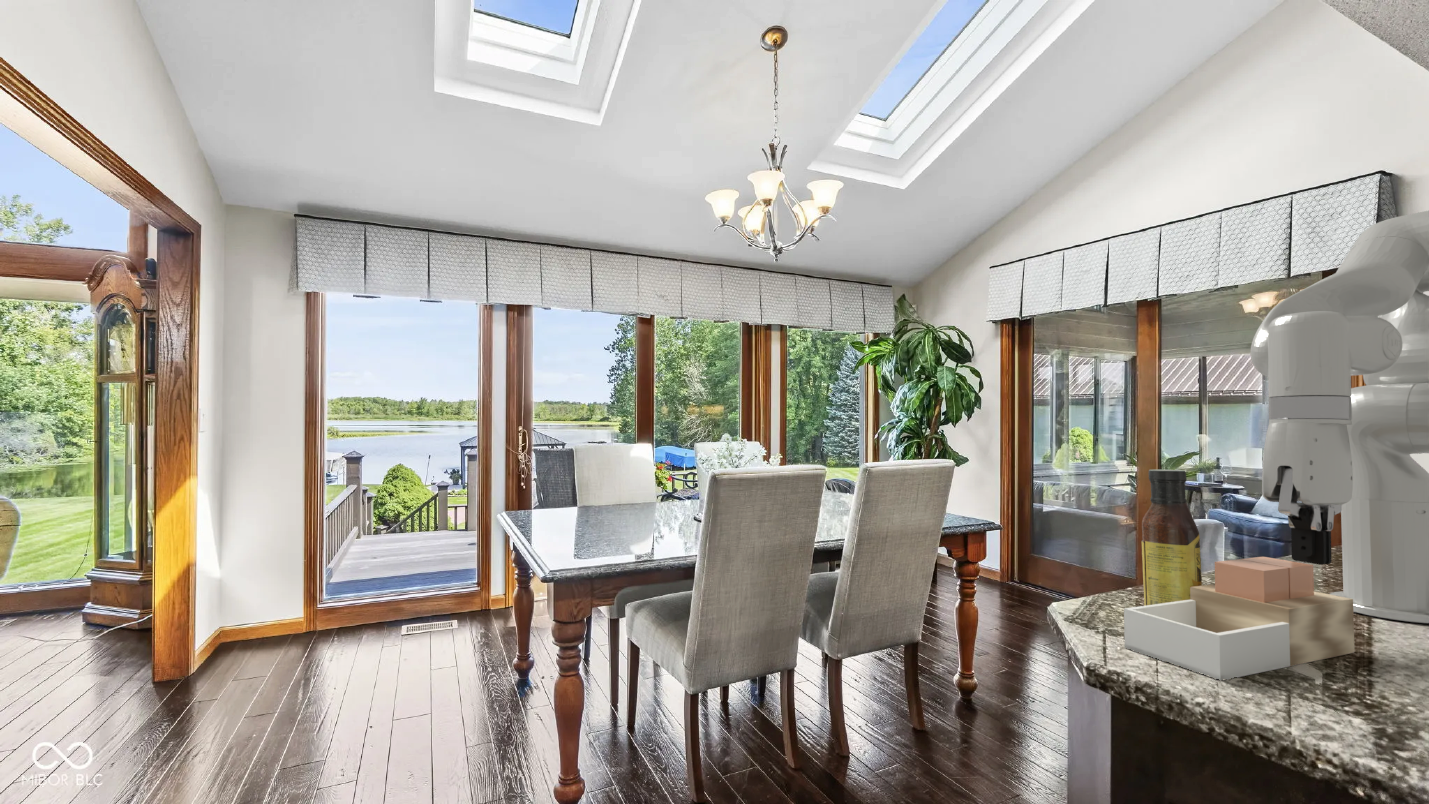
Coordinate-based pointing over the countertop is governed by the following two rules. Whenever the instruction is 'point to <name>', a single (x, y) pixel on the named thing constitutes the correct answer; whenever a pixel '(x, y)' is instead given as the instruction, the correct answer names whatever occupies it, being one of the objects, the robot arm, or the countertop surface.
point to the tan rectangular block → (1283, 620)
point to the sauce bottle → (1169, 541)
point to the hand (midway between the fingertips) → (1311, 561)
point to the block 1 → (1252, 580)
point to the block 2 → (1293, 575)
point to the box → (1204, 641)
